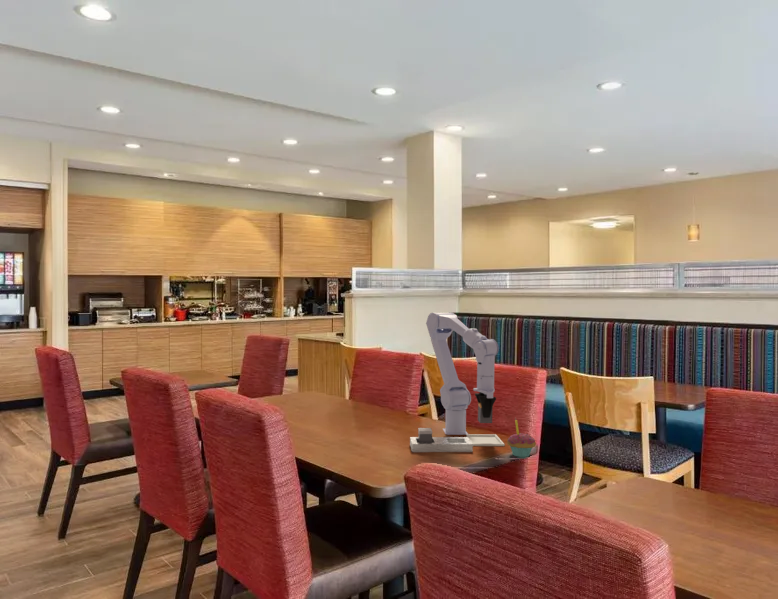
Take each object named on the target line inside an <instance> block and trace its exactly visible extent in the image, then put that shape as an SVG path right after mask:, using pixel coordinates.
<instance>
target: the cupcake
mask: <svg viewBox="0 0 778 599" xmlns="http://www.w3.org/2000/svg"><path fill="white" fill-rule="evenodd" d="M514 421H515V431H516V433H513V434H511V435H509V437H508V438H507V443H506V444H507V445H508V446H509V447H510V450H511V453H512V456H514V457H515V458H517V459H522V460H523V459H528V458H529V457H530V456H531V455H530V454H531V452H532V449H533V448H535V447H536V440H535V438H534V437H533V436H531V434H528V433H524V432H523V433H522V432H520V431H519V423H518V420H517V417H515V418H514Z"/></svg>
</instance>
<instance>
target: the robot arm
mask: <svg viewBox="0 0 778 599" xmlns="http://www.w3.org/2000/svg"><path fill="white" fill-rule="evenodd" d="M458 318H459V317H458V315H457V314H455V313H454V312H452V311H451V312H430V313H429V314H428V315H427V319H426V323H425V324H426V327H427V332H428V334H429V337H430V342H431V344H432V348H433V351H434V355H435V358H436V361H437V365H438V368H439V371H440V375H441V378H442V381H443V384H442V386H441V387H440V389H439V393H440V402H441V405H442V406H443V409H445V428H443V427H442V431H443V432H444V434H445V435H451V436H452V435H459V436H461V435H466V434H469V433H468V432H467V431H466V430H467V429H466V428H467V409H468V408H469V405H470V404H471V402H472V395H471V392H470V391H469V390H468V388H467V385H466V383H464V382H463V381H461V380H460V379H459V378H458V377H459V376H458V373H457V370H456V368H455V364H454V361H453V356H452V354H451V350H450V348H449V345H448V342H447V339H448V338H449V337H450V336H451V335H452V333H453V331H454V332H455V333H456V334H457V335H459V336H461V337H462V340H463V342H464V343H465V344H467V346H469V347H470V348H471V349H473V353H474V355H475V360H476V362H477V365H476V367H477V368H476V387H473V390H472V391H474V392H475V393H474V396H475V398H476V401H477V404H478V403H481V406H482V414H483V417H484V418H490V415H491V411H492V407H493V408H494V404H495V402H496V400H497V397H496V396H494V393H495V392H496V391H495V363H496V362H495V360H496V359H495V357H496V356H497V355H498V353H499V349H500V348H499V345H498V342H497V340H495V339H493V338H487V336H486V335H483V334H482V333H480V332H479V330H478V329H477V328H476V327H475V328H474V327H473V328H469V327H468V326H467V325H465V324H464V323H463V322H462V321H461V320H460V319H458ZM476 392H477V393H476ZM492 412H493V411H492Z"/></svg>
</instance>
